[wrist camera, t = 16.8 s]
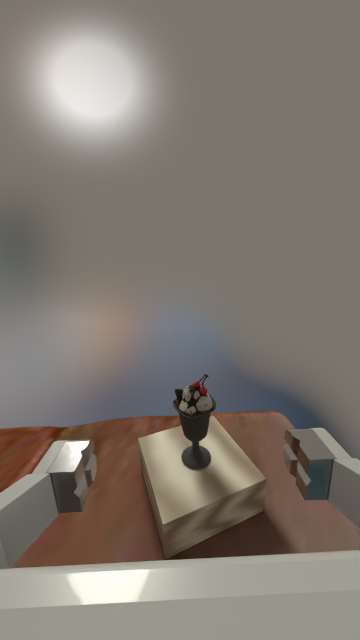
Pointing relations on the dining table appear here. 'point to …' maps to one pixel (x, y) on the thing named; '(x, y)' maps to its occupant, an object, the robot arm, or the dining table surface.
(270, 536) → the dining table surface
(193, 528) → the cream block
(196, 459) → the sundae
